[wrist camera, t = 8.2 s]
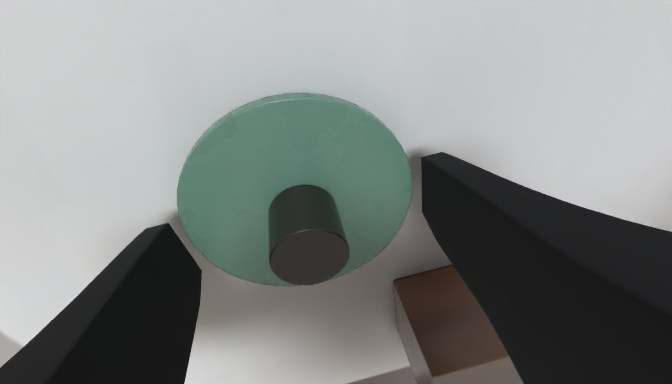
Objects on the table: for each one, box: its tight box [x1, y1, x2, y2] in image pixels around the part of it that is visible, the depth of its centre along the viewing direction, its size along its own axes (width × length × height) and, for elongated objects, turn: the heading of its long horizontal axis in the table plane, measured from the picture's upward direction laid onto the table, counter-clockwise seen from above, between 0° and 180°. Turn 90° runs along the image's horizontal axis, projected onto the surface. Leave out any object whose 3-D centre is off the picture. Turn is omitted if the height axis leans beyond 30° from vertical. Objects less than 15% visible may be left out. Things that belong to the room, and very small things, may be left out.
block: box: [393, 265, 523, 384], centre depth 13 cm, size 4×4×4 cm
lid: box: [177, 93, 412, 286], centre depth 9 cm, size 7×7×3 cm
